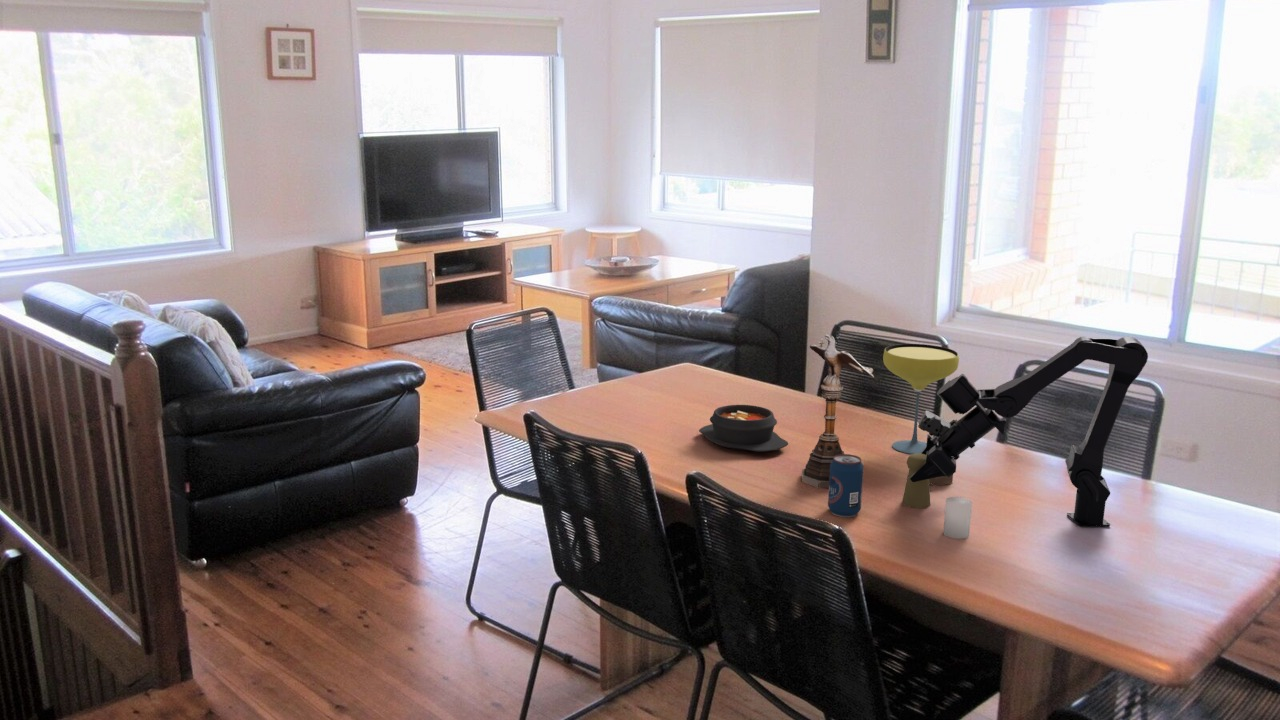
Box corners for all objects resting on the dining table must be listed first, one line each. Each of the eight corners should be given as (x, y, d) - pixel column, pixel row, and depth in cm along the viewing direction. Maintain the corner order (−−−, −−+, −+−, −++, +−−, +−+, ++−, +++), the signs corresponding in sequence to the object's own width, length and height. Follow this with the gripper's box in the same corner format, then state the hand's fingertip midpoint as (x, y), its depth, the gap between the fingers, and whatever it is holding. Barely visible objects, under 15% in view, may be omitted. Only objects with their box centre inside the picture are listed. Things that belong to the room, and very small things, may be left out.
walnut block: (952, 483, 242) (954, 462, 241) (934, 486, 240) (936, 465, 239) (938, 476, 247) (940, 456, 246) (920, 479, 245) (922, 458, 244)
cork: (931, 509, 226) (935, 460, 223) (902, 506, 227) (906, 458, 225) (929, 499, 232) (933, 451, 229) (901, 497, 233) (904, 449, 230)
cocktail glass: (876, 455, 260) (883, 357, 255) (878, 434, 278) (884, 341, 272) (952, 462, 256) (961, 362, 251) (949, 440, 273) (957, 346, 268)
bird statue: (831, 462, 255) (839, 320, 247) (875, 476, 246) (885, 329, 237) (785, 476, 245) (792, 328, 237) (829, 492, 235) (837, 338, 227)
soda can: (821, 508, 226) (824, 455, 223) (849, 504, 228) (852, 451, 225) (838, 520, 219) (841, 465, 217) (867, 516, 222) (870, 461, 219)
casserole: (804, 449, 265) (805, 416, 263) (752, 464, 254) (753, 430, 252) (733, 425, 284) (734, 395, 282) (682, 438, 272) (683, 407, 270)
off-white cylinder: (972, 538, 211) (975, 505, 209) (948, 538, 211) (950, 505, 209) (964, 529, 216) (966, 496, 214) (939, 529, 215) (942, 496, 214)
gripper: (943, 390, 232) (888, 433, 237) (943, 413, 214) (884, 459, 220) (977, 427, 232) (921, 470, 237) (980, 453, 214) (920, 499, 220)
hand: (911, 473), depth 228 cm, fingers open, 8 cm apart
